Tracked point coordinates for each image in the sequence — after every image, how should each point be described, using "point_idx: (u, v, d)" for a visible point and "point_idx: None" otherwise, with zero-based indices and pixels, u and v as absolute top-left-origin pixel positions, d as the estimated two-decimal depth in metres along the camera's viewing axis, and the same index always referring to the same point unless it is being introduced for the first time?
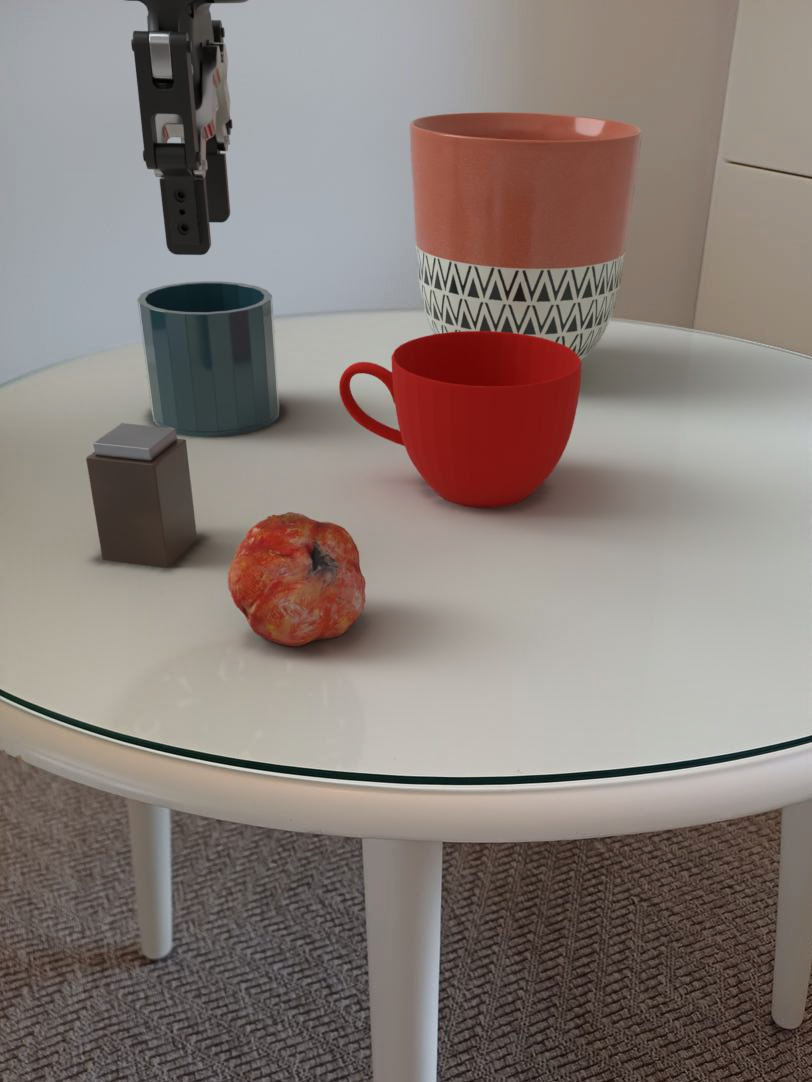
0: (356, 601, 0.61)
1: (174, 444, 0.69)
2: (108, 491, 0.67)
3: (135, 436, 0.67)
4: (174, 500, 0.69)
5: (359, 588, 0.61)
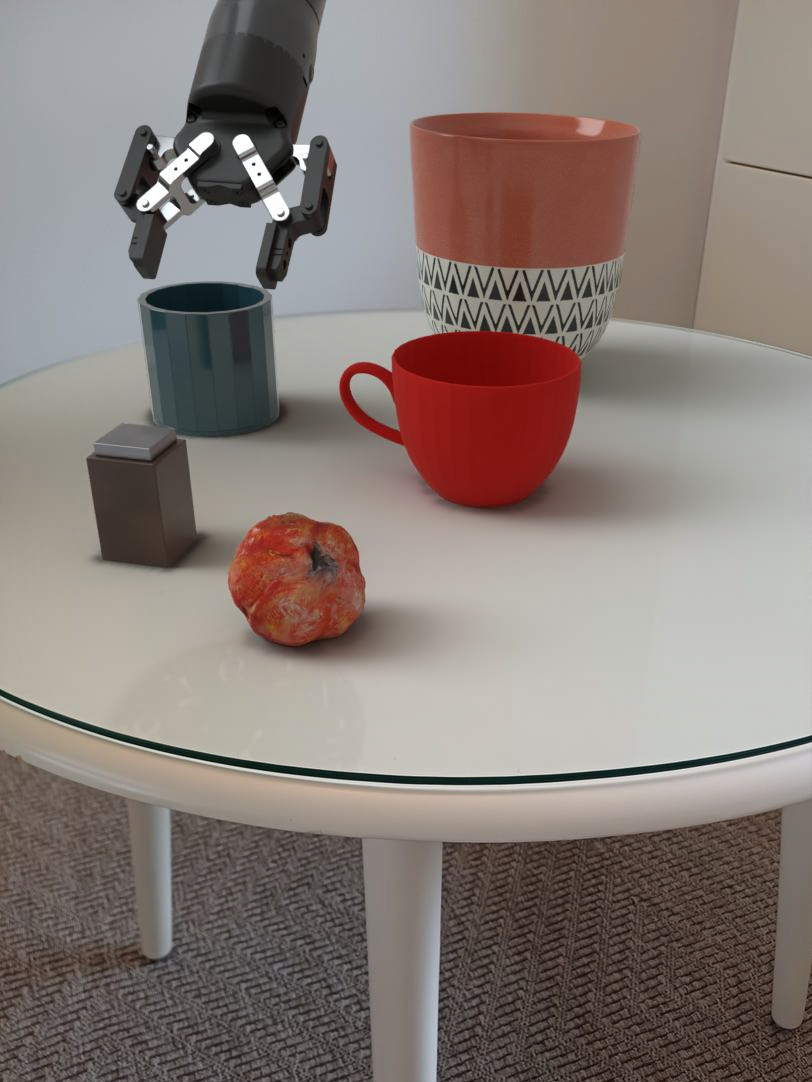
0: (356, 601, 0.61)
1: (174, 444, 0.69)
2: (108, 491, 0.67)
3: (135, 436, 0.67)
4: (174, 500, 0.69)
5: (359, 588, 0.61)
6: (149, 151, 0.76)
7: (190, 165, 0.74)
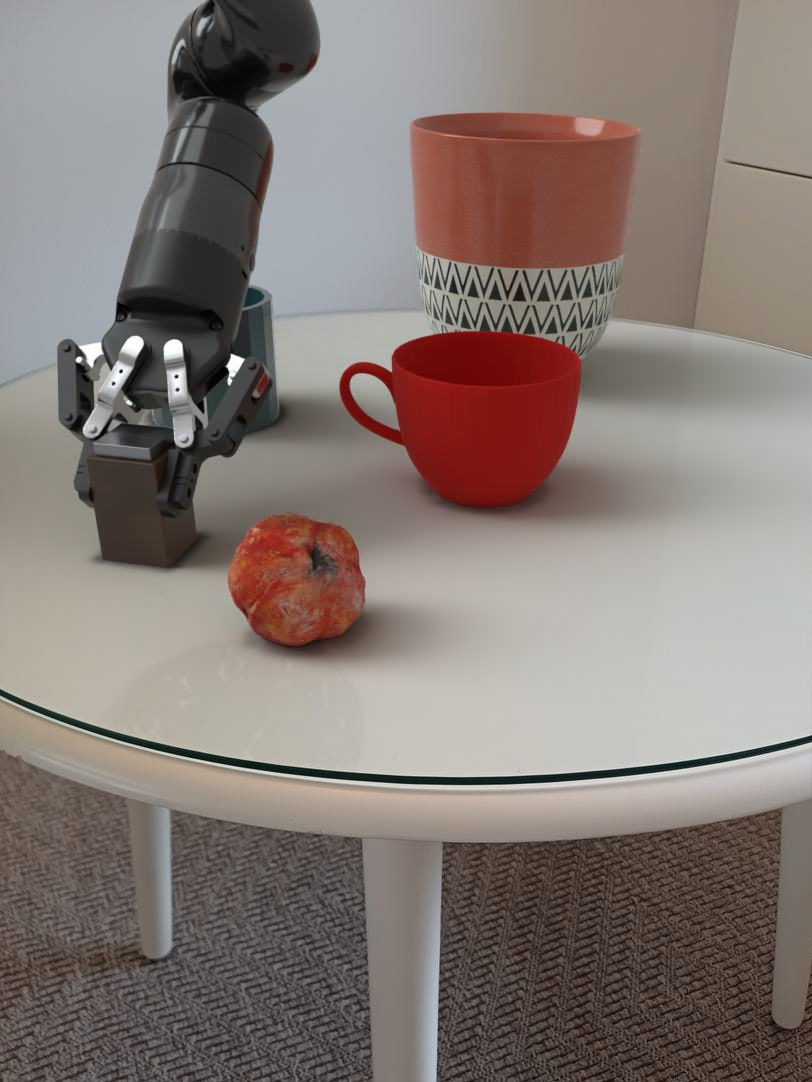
0: (356, 601, 0.61)
1: (174, 444, 0.69)
2: (108, 491, 0.67)
3: (135, 436, 0.67)
4: None
5: (359, 588, 0.61)
6: (80, 364, 0.70)
7: (127, 375, 0.68)
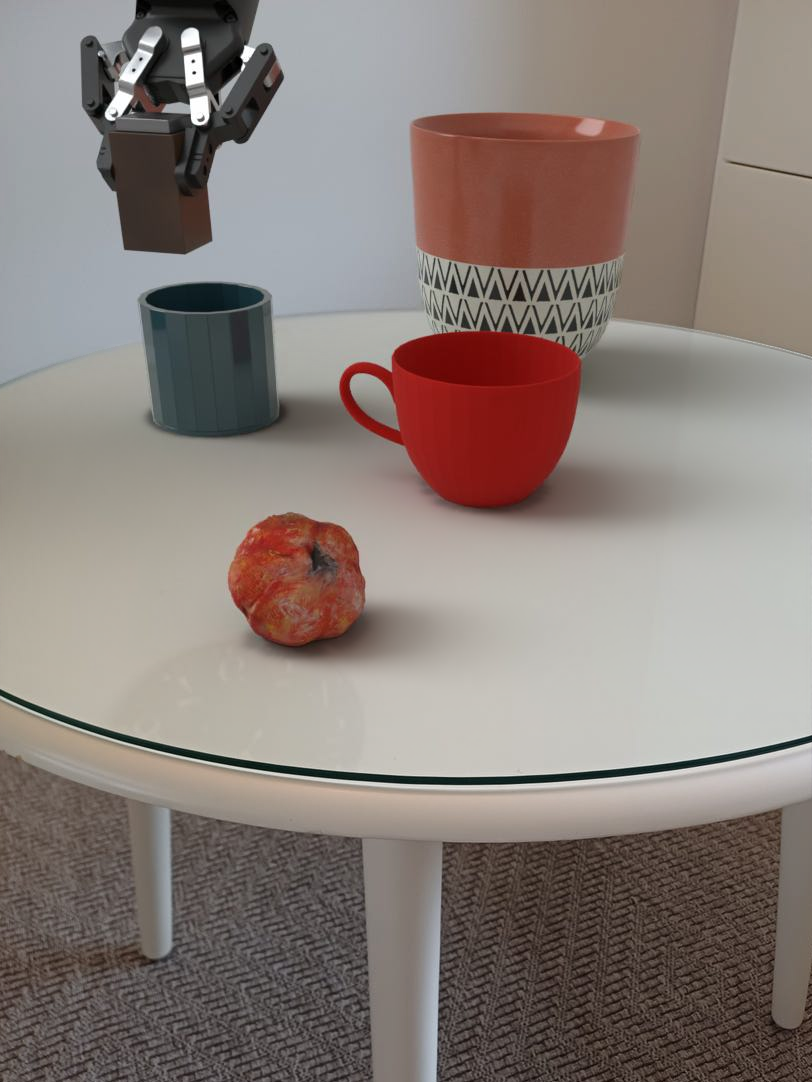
0: (356, 601, 0.61)
1: None
2: (128, 167, 0.71)
3: (154, 115, 0.71)
4: None
5: (359, 588, 0.61)
6: (101, 58, 0.74)
7: (147, 62, 0.72)
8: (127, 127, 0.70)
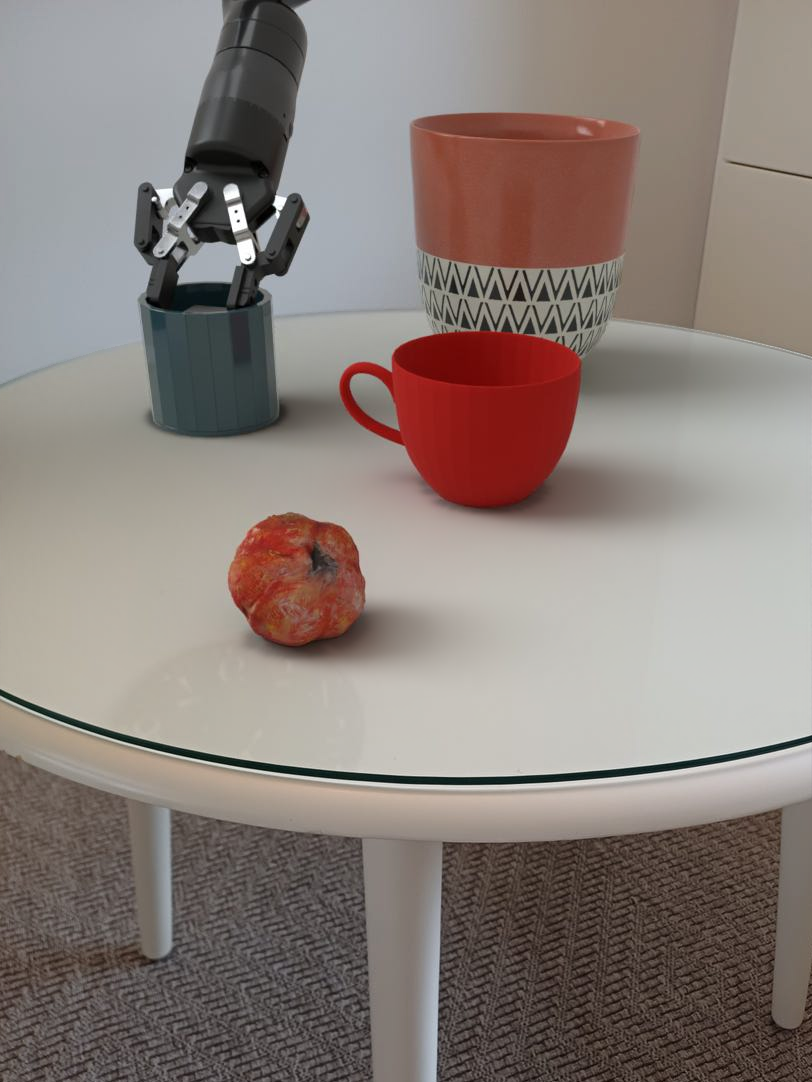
0: (356, 601, 0.61)
1: None
2: None
3: None
4: None
5: (359, 588, 0.61)
6: (154, 203, 0.89)
7: (192, 211, 0.87)
8: None
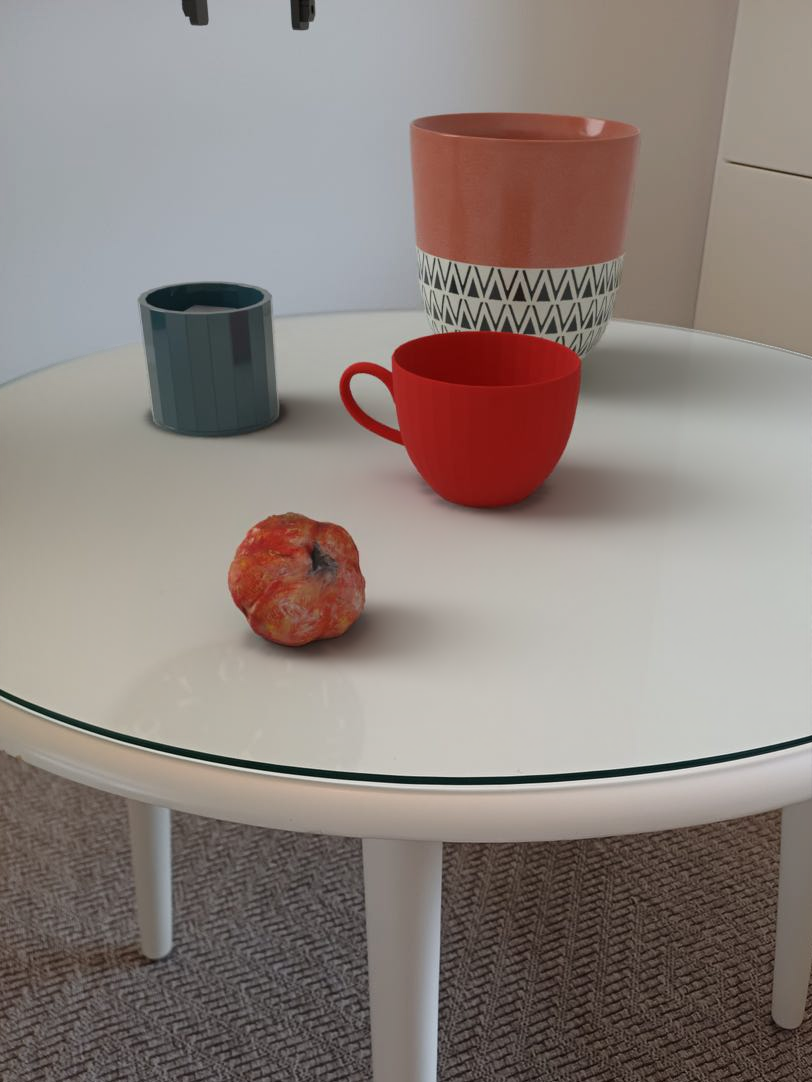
0: (356, 601, 0.61)
1: None
2: None
3: None
4: None
5: (359, 588, 0.61)
6: None
7: None
8: None
